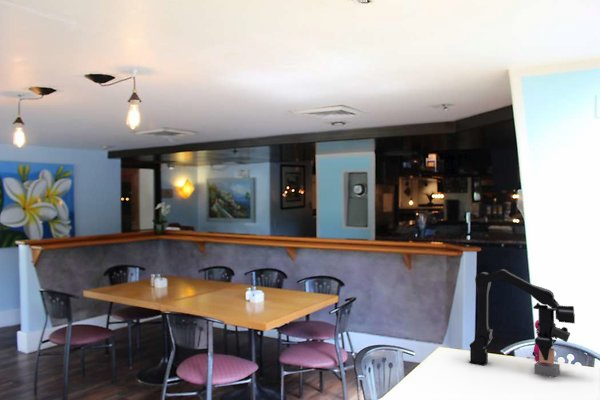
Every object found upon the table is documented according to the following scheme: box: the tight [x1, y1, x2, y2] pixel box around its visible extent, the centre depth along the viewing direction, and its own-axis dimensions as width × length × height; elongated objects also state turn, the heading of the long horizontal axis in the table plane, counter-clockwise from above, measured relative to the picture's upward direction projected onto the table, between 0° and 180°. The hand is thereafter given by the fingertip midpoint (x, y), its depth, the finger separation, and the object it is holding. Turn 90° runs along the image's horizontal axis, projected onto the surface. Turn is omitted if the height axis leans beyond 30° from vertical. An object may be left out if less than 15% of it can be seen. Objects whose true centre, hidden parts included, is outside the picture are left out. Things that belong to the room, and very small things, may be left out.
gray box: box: [533, 361, 561, 378], centre depth 194 cm, size 8×7×4 cm
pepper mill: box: [533, 319, 539, 362], centre depth 212 cm, size 7×7×20 cm
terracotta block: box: [539, 347, 555, 364], centre depth 194 cm, size 5×5×5 cm
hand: (546, 358), depth 194 cm, fingers closed on terracotta block, 5 cm apart
